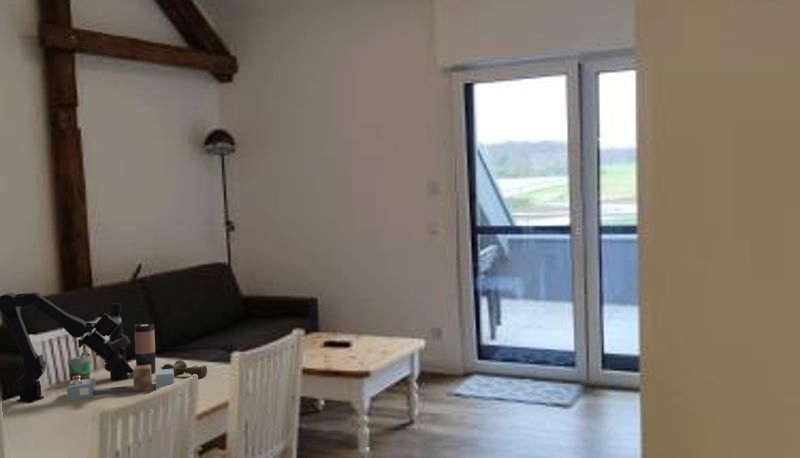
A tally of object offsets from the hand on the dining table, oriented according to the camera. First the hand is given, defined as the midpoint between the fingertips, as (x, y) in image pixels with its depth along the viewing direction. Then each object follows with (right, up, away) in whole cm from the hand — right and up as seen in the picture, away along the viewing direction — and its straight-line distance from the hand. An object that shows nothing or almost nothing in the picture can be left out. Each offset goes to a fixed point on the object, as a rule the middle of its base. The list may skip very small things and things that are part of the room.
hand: (133, 372), depth 267 cm
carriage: (+3, -7, +1) cm, 7 cm away
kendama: (+12, -6, +20) cm, 24 cm away
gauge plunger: (-18, -5, -5) cm, 20 cm away
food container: (-25, -7, +15) cm, 30 cm away
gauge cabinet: (-17, -7, -5) cm, 19 cm away
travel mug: (-4, -6, +26) cm, 27 cm away
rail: (-2, -7, 0) cm, 7 cm away
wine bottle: (-12, -6, +18) cm, 23 cm away
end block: (+11, -6, +4) cm, 13 cm away
